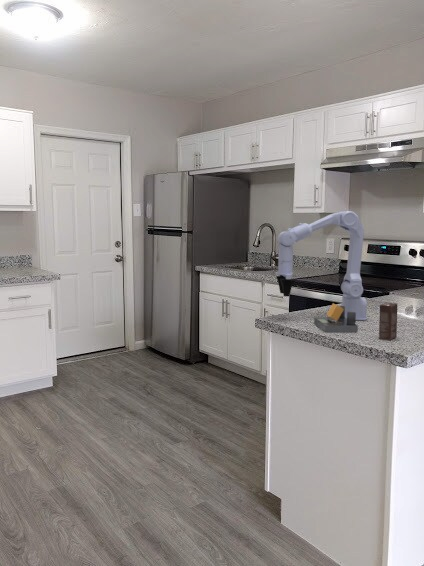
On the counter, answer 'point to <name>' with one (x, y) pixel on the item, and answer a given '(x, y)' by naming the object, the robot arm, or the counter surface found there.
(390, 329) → the box
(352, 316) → the post
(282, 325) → the counter surface
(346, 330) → the grey flat block
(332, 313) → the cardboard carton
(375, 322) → the counter surface
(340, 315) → the post
